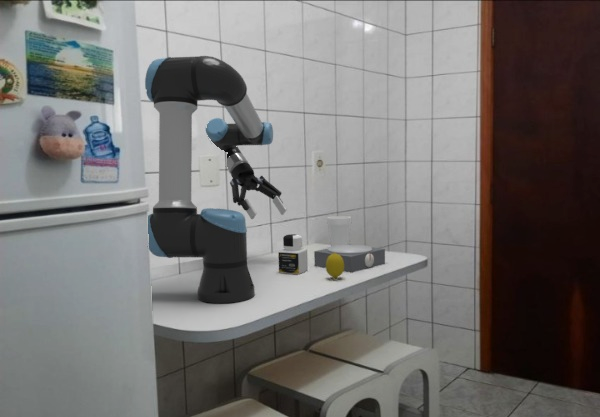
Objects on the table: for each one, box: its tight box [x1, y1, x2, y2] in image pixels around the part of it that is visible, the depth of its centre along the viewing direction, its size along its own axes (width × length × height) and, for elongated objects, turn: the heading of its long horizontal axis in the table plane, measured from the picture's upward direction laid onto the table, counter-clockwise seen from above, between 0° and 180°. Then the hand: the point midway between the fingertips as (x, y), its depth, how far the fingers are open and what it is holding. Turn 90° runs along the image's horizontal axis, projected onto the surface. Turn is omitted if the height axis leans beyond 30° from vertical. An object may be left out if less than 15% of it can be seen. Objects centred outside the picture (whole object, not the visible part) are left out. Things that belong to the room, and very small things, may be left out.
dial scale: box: [313, 243, 386, 273], centre depth 181 cm, size 18×17×6 cm
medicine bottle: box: [277, 233, 309, 275], centre depth 172 cm, size 7×7×12 cm
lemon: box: [325, 253, 345, 280], centre depth 161 cm, size 6×6×8 cm
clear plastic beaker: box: [326, 215, 352, 247], centre depth 209 cm, size 10×9×13 cm
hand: (269, 214), depth 179 cm, fingers open, 13 cm apart
